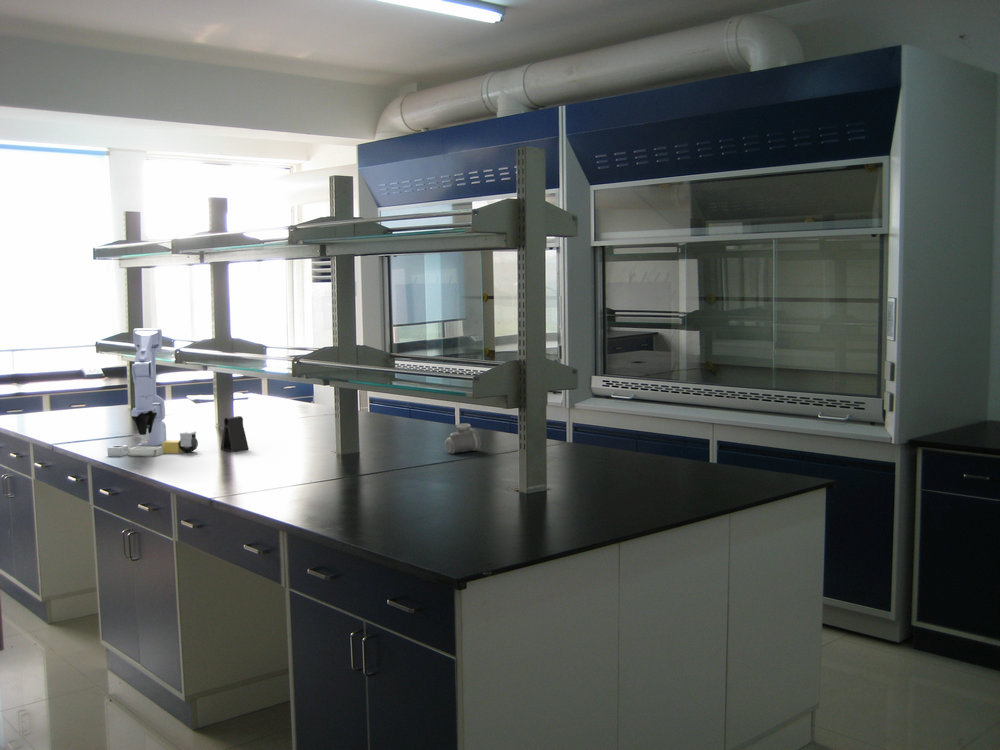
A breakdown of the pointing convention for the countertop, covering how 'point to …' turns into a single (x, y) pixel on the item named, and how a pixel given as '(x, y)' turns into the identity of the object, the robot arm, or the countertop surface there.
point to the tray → (145, 451)
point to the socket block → (118, 450)
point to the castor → (188, 441)
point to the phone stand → (234, 435)
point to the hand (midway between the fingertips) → (145, 433)
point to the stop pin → (145, 437)
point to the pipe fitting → (463, 439)
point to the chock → (171, 447)
